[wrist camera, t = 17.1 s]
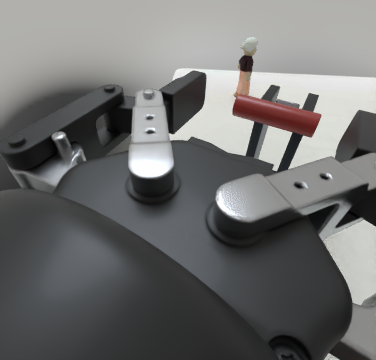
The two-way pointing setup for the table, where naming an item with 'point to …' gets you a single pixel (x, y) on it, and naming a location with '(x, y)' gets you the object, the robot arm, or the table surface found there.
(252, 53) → the grandmother figurine
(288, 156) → the bracket
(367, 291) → the table surface
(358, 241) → the table surface
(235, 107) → the lever
